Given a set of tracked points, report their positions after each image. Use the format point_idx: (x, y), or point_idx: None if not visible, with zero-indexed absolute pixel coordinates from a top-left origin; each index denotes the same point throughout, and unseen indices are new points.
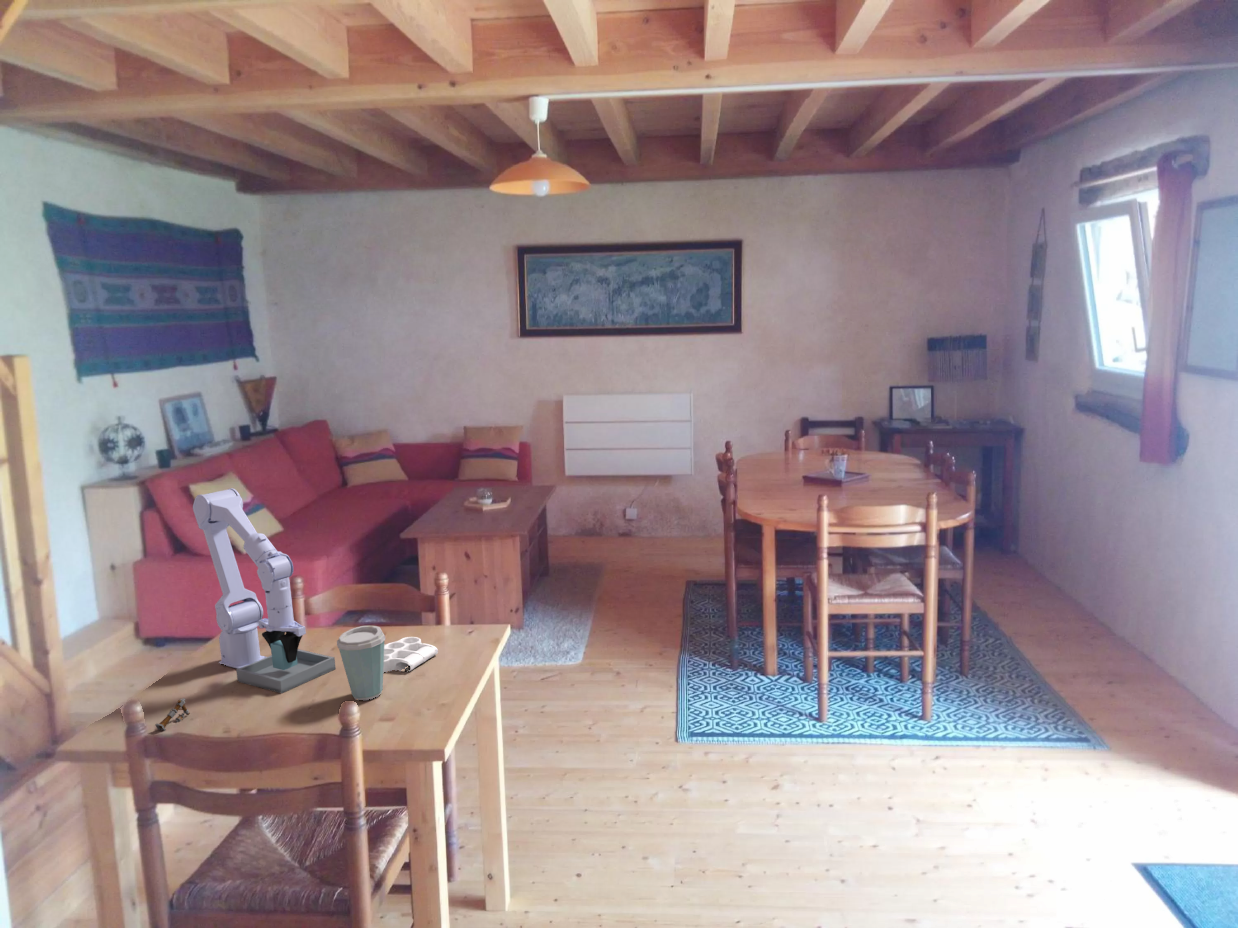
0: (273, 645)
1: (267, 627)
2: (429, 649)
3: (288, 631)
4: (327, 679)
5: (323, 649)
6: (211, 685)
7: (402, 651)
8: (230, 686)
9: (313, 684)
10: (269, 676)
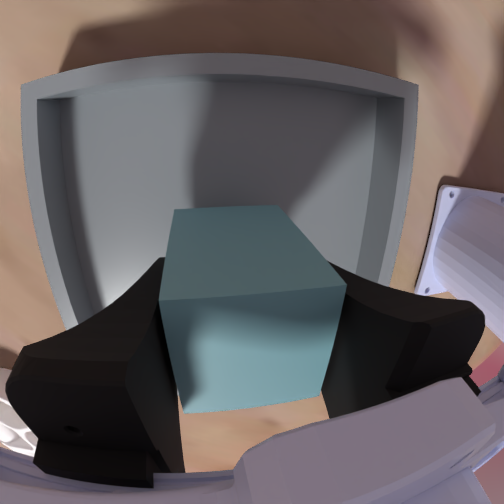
0: (295, 282)
1: (459, 459)
2: None
3: (137, 486)
4: (33, 288)
5: (297, 410)
6: (431, 35)
7: (29, 447)
8: (364, 35)
9: (26, 230)
10: (136, 78)
